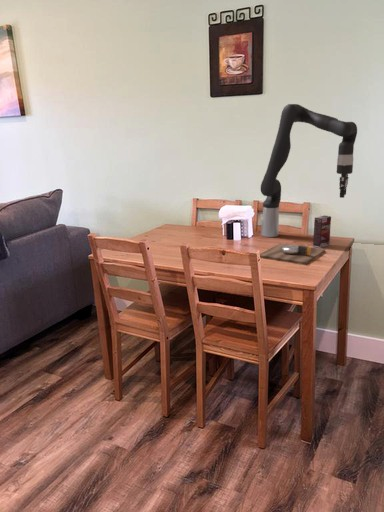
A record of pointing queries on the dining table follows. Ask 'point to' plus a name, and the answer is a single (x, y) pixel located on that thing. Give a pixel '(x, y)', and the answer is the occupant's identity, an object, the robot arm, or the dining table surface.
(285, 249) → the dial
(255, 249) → the dining table surface
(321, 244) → the supplement box
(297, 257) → the board
